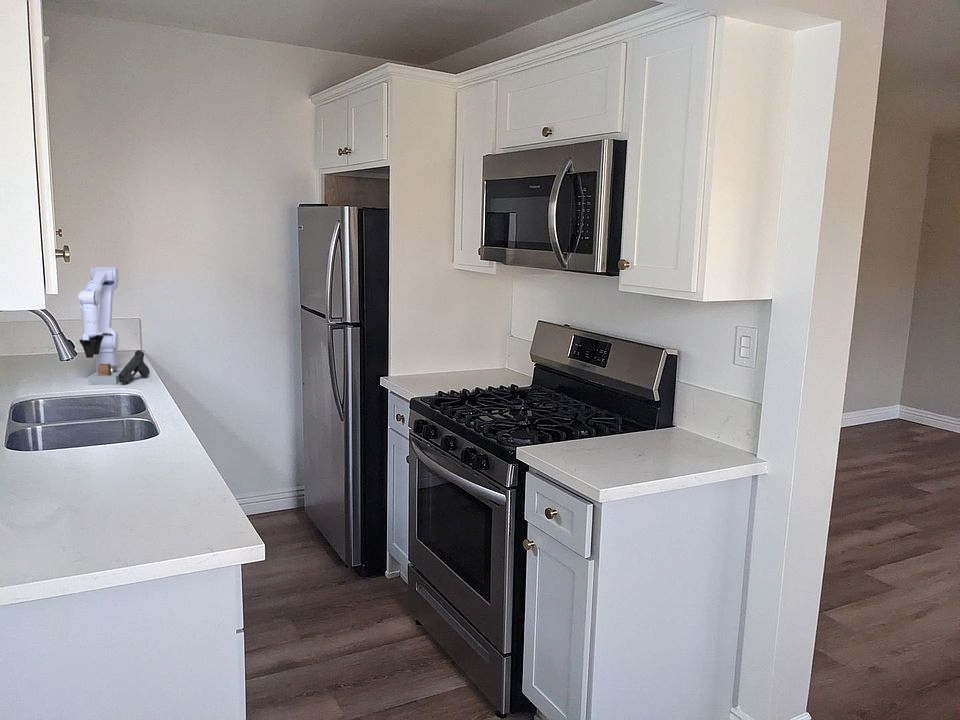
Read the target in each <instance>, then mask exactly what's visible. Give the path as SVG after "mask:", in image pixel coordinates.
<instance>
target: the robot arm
mask: <svg viewBox="0 0 960 720" xmlns="http://www.w3.org/2000/svg"><path fill="white" fill-rule="evenodd" d="M89 277H90V281H88V282H87V284H86V285H85V287H84V289H83V290H81V291H79V292H78V296H77V298H78V304H79V309H80V310H81V321H82V338H81V339H79V343H80V345H81V346H82V348H83V351H84V354H85V357H86V358H87V359H88V358H90V359H92V358H93V357H94V355H95V370H96V371H94V372H93V373H92V374H94V373H98V365H99V364H111V365H115V366H117V370H118V372H119V371H120V370H121V369H120V368H118V355H117V353H116V351H117V350H118V348H119V344H120V343H119V342H120V341H119V334H118V332H117V330H115V329H113V328H112V322H113V321H112V318H113V317H112V316H113V301H114V300H113V299H114V291H115V290H117V289H118V288H119V284H120V283H119V281H120V275H119V268H117V266H91V268H90V270H89Z"/></svg>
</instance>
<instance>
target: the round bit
mask: <svg viewBox="0 0 960 720" xmlns="http://www.w3.org/2000/svg"><path fill="white" fill-rule="evenodd" d="M117 367H118V365H117V366H115V365H111V372H119V371H118V370H117Z"/></svg>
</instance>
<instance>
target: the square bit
mask: <svg viewBox="0 0 960 720" xmlns="http://www.w3.org/2000/svg"><path fill="white" fill-rule="evenodd" d="M110 375H111V364H99V365H98V376H110Z"/></svg>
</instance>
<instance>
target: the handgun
mask: <svg viewBox="0 0 960 720" xmlns="http://www.w3.org/2000/svg"><path fill="white" fill-rule="evenodd" d="M144 358H145V353H144V351H142V350H140V349H139V350H138V349H137V350H135V352H134V356H133V357H132V358H131V359H130V360H129V361H128V362H127V364H126V365H125V366H124V367H123V369H122V370H121V371H120V373H119V376H118V377H119V383H121V384H122V385H129V384H130V383H131V381H133V380H134V379H135V376H136V374H137V373H139V375H140V377H141V378H140V379H147V378H148V377H149V375H150V374H151V373H150V372H151V371H150V368H149V367H148V365H147V364H146V363H145V362H144ZM132 372H133V373H132Z"/></svg>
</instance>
